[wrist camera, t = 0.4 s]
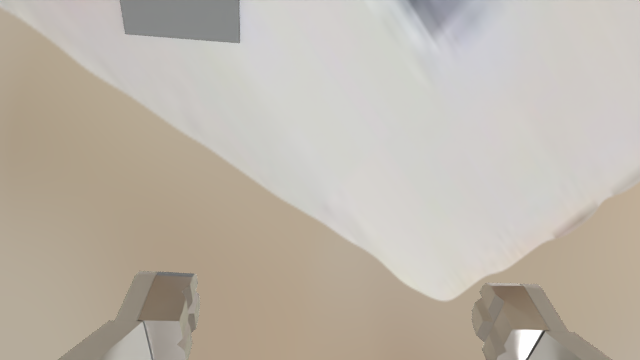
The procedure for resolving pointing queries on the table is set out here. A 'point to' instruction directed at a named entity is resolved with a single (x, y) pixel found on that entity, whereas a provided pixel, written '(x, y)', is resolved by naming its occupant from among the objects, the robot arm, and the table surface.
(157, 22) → the mat
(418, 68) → the table surface
